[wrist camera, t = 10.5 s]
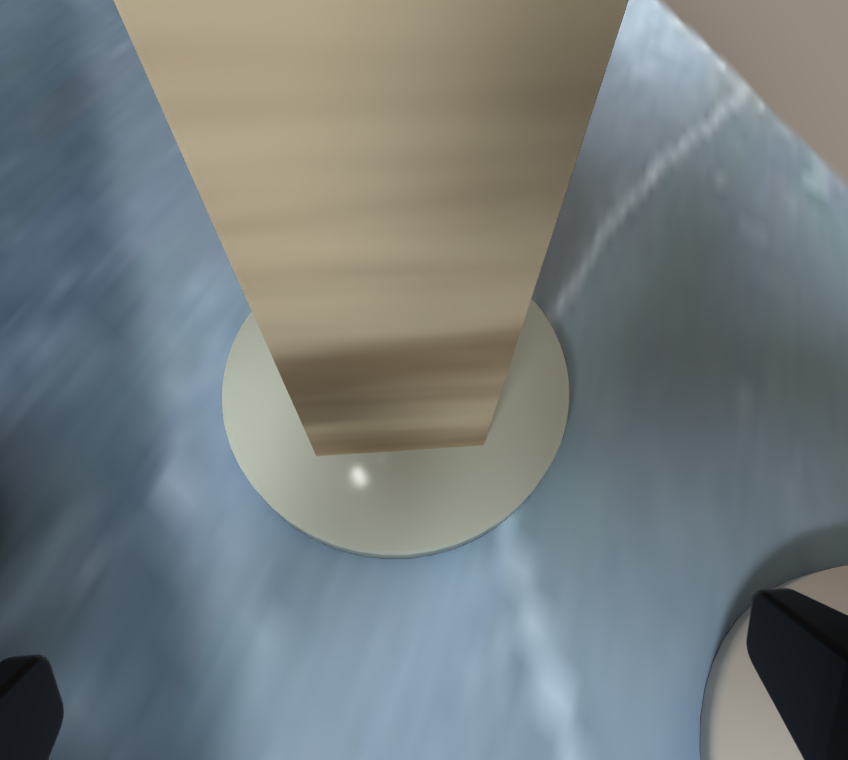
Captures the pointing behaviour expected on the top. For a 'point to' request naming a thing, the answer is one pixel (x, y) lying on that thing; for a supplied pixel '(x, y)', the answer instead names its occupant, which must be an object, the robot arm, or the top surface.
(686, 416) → the top surface
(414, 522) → the beige round flat piece
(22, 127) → the top surface
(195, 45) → the tan wooden block
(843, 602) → the beige flat disc
